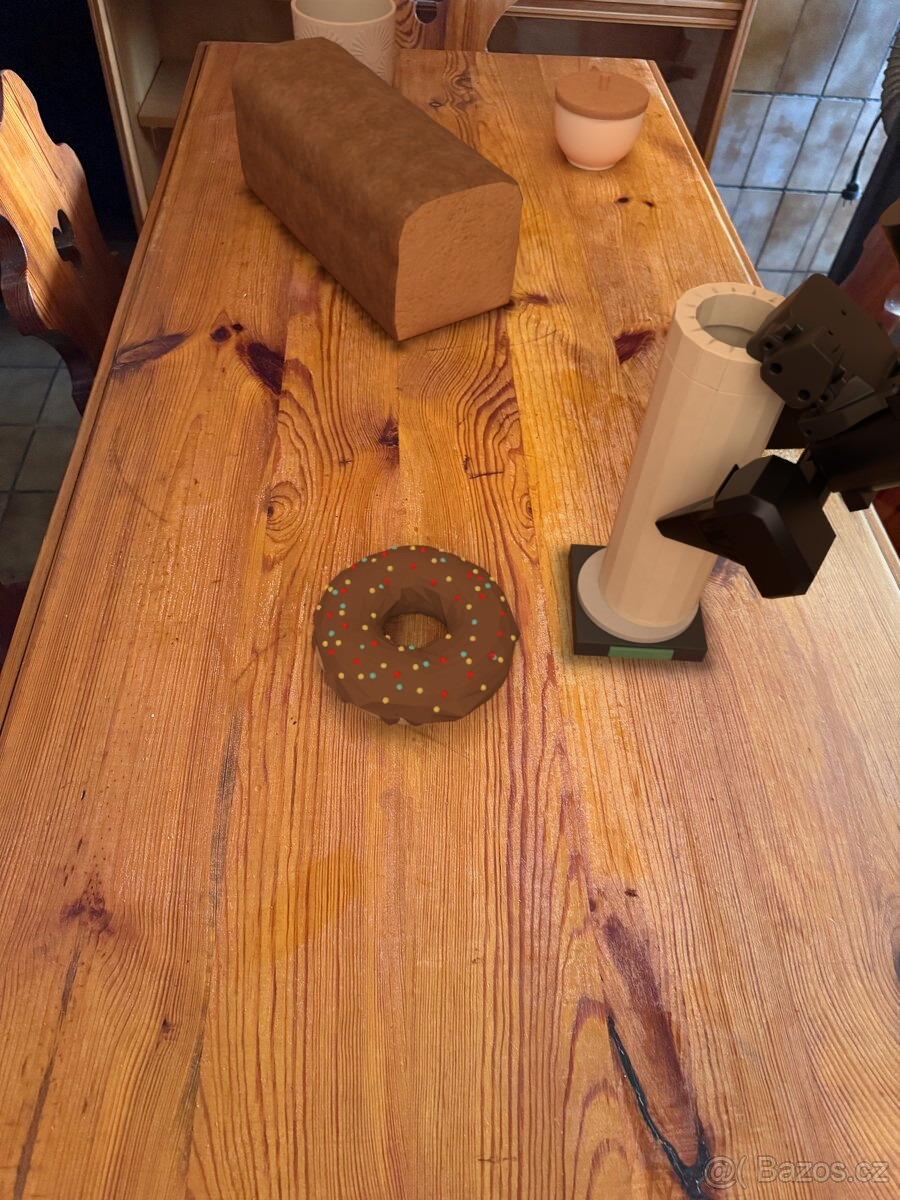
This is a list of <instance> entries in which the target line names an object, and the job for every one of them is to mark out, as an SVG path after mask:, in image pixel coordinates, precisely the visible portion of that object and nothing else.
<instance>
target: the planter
mask: <svg viewBox="0 0 900 1200" xmlns="http://www.w3.org/2000/svg"><path fill="white" fill-rule="evenodd" d="M290 9H291V19H292V27H293V36H294V40H298V39H305V38H313V37H324V38H326V39H329V40H331V41H333V42H335V43H337V44H339V45H340V46H342V47H343V48H344V49H346V50H347V51H348V52H349V53H350V54H352V55H353V56H354V57H355V58H357V59H358V60H359V61H360V62H362V63H363V64H364V65H366V66H367V67H368V68H370V69H371V70H372V71H373V72H375V73H376V74H377V75H378V76H379V77H381V78H382V79H383V80H384V81H385V82H386V83H388V84H389V85H390V86H391V87H392V88H393V82H394V72H395V61H396V60H395V57H396V32H397V31H396V29H397V28H396V27H397V22H396V21H397V4H396V2H395V1H394V0H291V2H290Z"/></svg>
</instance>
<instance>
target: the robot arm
mask: <svg viewBox="0 0 900 1200" xmlns="http://www.w3.org/2000/svg"><path fill="white" fill-rule="evenodd" d="M878 225H879V227H880V229H881V232H882V234H883V236H884V238H885V241H886V243H887V245H888V247H889V250H890V252H891V255H892V256H893V259H894V260H895V263H896V265H897V268H898V270H899V271H900V197H899V198H897V199H896V200H895V201H894V202H892V203H891V204H890V205H889V207H887V208H886V209H885V210H884V211H883V212H882V213H881V215H880V216H879V219H878ZM785 298H786V299H785V300H784V301H783V302H781V303H780V304H779V305H778V306H777V307H776V308H775V309H774V310H773V311H772V312H771V313H770V314H769V315H768V316H767V317H766V318H765V321H764V322H763V323H762V325H761V326H760V327H759V329H758V330H757V331H756V332H755V334H754V335H753V336H752V337H751V338H750V339H749V341H748V342H747V344H746V352H747V354H748V355H749V356H750V357H752V358H753V359H755V360H756V361H759V362H761V363H762V365H761V367H760V378H761V380H762V381H763V382H764V383H765V384H766V385H768V386H769V387H770V388H771V389H772V390H773V391H774V392H775V393H776V394H777V395H778V396H779V397H780V398H781V399H782V400H783V401H784V402H785V404H784V407H783V409H782V411H781V413H780V416H779V418H778V420H777V423H776V425H775V427H774V429H773V432H772V434H771V436H770V439H769V441H768V443H767V446H766V448H765V450H764V451H772V450H773V451H774V450H802V452H801V453H800V456H799V457H798V459H797V461H796V462H793V461H791V460H789V459H786V458H784V457H781V456H780V455H777V454H775V453H773V454H769V455H766V456H762V457H761V458H758V459H754V460H753V461H751V462H750V463H748V464H746V465H745V466H743V467H742V468H739V467H738V465H737V464H735V465H734V466H733V467H732V469H731V470H730V472H729V473H728V475H727V476H726V478H725V479H724V481H723V482H722V483H721V485H720V486H719V488H718V489H717V491H716V493H715V495H713V496H711V497H708V498H705V499H703V500H700V501H698V502H695V503H693V504H690V505H687V506H685V507H682V508H680V509H677V510H675V511H673V512H670V513H668V514H666V515H664V516H662V517H660V518H658V519H657V520H656V522H655V525H656V527H657V529H658V530H659V532H660V534H661V535H662V536H663V537H666V538H669V539H672V540H674V541H677V542H680V543H683V544H686V545H689V546H692V547H695V548H698V549H701V550H704V551H707V552H710V553H713V554H716V555H719V556H718V557H721V558H724V559H727V560H729V561H731V562H733V563H735V564H737V565H739V566H742V567H743V568H744V569H745V571H746V573H747V574H748V576H749V577H750V579H751V581H752V582H753V584H754V586H755V587H756V589H757V591H758V593H759V595H760V596H761V598H762V599H766V600H775V599H782V598H783V599H784V598H791V597H799V596H805V595H806V594H807V593H808V592H809V591H808V590H809V589H810V588H811V586H812V584H813V582H814V580H815V579H816V576H817V575H818V572H819V571H820V569H821V568H822V565H823V564H824V561H825V559H826V557H827V556H828V554H829V552H830V550H831V548H832V546H833V544H834V542H835V540H836V539H837V537H838V536H837V534H836V532H835V530H834V528H833V526H832V524H831V523H830V520H829V519H828V516H827V515H826V512H825V511H824V507H825V506H826V504H827V502H828V500H829V498H830V497H831V494H837V493H839V496H840V497H841V500H842V501H843V502H844V505H845V507H846V508H847V511H848V512H849V513H854V512H860V511H864V510H869V509H870V507H871V506H872V503H873V501H874V499H875V497H876V495H877V493H878V491H881V490H887V489H891V488H895V487H896V488H897V487H900V345H895V346H894V343H893V341H892V340H891V339H892V338H891V337H890V335H889V333H888V330H887V328H886V326H885V324H884V323H883V322H879V321H877V320H874V319H873V318H872V317H871V316H870V315H869V314H868V313H867V312H866V311H865V310H864V309H862V308H861V307H860V305H858V304H857V303H856V302H855V301H854V300H853V299H852V298H851V297H850V296H849V295H848V294H847V293H846V292H845V291H844V290H842V288H840V287H839V286H838V285H837V284H836V282H834V281H833V280H832V279H831V278H830V277H829V276H827V275H825V274H823V273H819V272H815V273H812V274H811V275H809V276H808V277H807V279H805V280H804V281H803V282H802V283H801V284H800V285H799V286H797V287H796V288H795V289H794V290H793V291H792V292H791V293H790V294H789V295H788V296H787V297H785Z"/></svg>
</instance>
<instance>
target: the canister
mask: <svg viewBox="0 0 900 1200" xmlns="http://www.w3.org/2000/svg"><path fill="white" fill-rule="evenodd" d="M786 298H787V297H785V296H783V295H782V294H779V293H777V292H774V291H772V290H769V289H767V288H764V287H761V286H759V285H758V286H757V285H756V284H749V283H742V282H736V281H722V282H721V281H720V282H708V283H707V282H705V283H702V284H700V285H697V286H695V287H692V288H690V289H687V290H686V291H685V292H684V293H683V294H682V295H681V296H680V298H678V299H677V301H675V305H674V308H673V311H672V315H671V319H670V322H669V327H668V330H667V333H666V337H665V339H664V340H665V341H664V343H663V347H662V351H661V354H660V358H659V361H658V365H657V369H656V372H655V375H654V378H653V382H652V385H651V389H650V393H649V397H648V400H647V403H646V407H645V411H644V415H643V419H642V422H641V425H640V429H639V432H638V435H637V439H636V442H635V445H634V449H633V452H632V457H631V459H630V460H631V461H630V464H629V468H628V471H627V474H626V478H625V481H624V485H623V489H622V492H621V496H620V499H619V503H618V507H617V510H616V513H615V517H614V519H613V524H612V528H611V531H610V534H609V538H608V541H607V545H606V546H607V549H606V552H605V556H604V559H603V563H602V567H601V572H600V576H599V588H600V592H601V595H602V597H603V599H604V600H605V602H606V603H607V605H608V606H609V607H610V608H611V609H612V610H613V611H614V612H615V613H616V614H618V615H619V616H620V617H622V618H624V619H625V620H627V621H630V622H632V623H635V624H637V625H641V626H646V627H667V626H671V625H675V624H677V623H679V622H681V621H683V620H684V619H686V618H687V617H688V616H689V615H690V614H691V613H692V612H693V610H694V608H695V606H696V604H697V602H698V601H700V599H701V597H702V594H703V592H704V590H705V587H706V585H707V583H708V581H709V579H710V576H711V574H712V572H713V569H714V567H715V565H716V563H717V560H718V558H719V557H720V556H719V555H716V554H713V553H710V552H707V551H704V550H701V549H698V548H695V547H692V546H689V545H686V544H683V543H680V542H677V541H674V540H672V539H669V538H666V537H663V536H662V535H661V534H660V532H659V530H658V529H657V527H656V525H655V522H656V520H657V519H658V518H660V517H662V516H664V515H666V514H668V513H670V512H673V511H675V510H677V509H680V508H682V507H685V506H687V505H690V504H693V503H695V502H698V501H700V500H703V499H705V498H708V497H711V496H713V495H715V493H716V491H717V489H718V488H719V486H720V485H721V483H722V482H723V481H724V479H725V478H726V476H727V475H728V473H729V472H730V470H731V469H732V467H733V466H734V465H735V464H737V465H738V467H739V468H742V467H743V466H745V465H746V464H748V463H750V462H751V461H753V460H754V459H758V458H761V457H763V455H764V453H765V451H766V450H765V448H766V446H767V443H768V441H769V439H770V436H771V434H772V432H773V429H774V427H775V425H776V423H777V420H778V418H779V416H780V413H781V411H782V409H783V407H784V404H785V402H784V401H783V400H782V399H781V398H780V397H779V396H778V395H777V394H776V393H775V392H774V391H773V390H772V389H771V388H770V387H769V386H768V385H766V384H765V383H764V382H763V381H762V380H761V378H760V367H761V365H762V363H761V362H759V361H756V360H755V359H753V358H752V357H750V356H749V355H748V354H747V352H746V344H747V342H748V341H749V339H750V338H751V337H752V336H753V335H754V334H755V332H756V331H757V330H758V329H759V327H760V326H761V325H762V323H763V322H764V321H765V318H766V317H767V316H768V315H769V314H770V313H771V312H772V311H773V310H774V309H775V308H776V307H777V306H778V305H779V304H780V303H781V302H783V301H784V300H785V299H786Z"/></svg>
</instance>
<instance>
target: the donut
mask: <svg viewBox="0 0 900 1200" xmlns="http://www.w3.org/2000/svg"><path fill="white" fill-rule="evenodd" d="M323 590H324V592H323V594H322V596H321V597H320V599H319V601H318V603H317V605H316V607H315V609H314V610H313V613H312V619H313V620H312V621H313V625H314V629H313V635H312V639H311V648H312V650H313V651H314V652H315V653H316V657H317V660H318V663H319V666H320V667H321V669H322V671H323V673H324V674H323V683H325V685H326V686H327V687H329V689H330V690H332V691H333V692H334V694H336V695H337V696H338V697H339V698H340V700H341V701H342V702H343V703H344V704H350V705H351V706H352V707H354V708H355V709H357V710H360V711H361V712H363V713H365V714H367V715H370V716H371V717H373V718H374V719H377V720H382V721H383V723H385V724H386V725H387V726H392V725H397V724H399V725H403V726H404V725H405V726H406V725H407V726H414V727H419V726H430V725H434V724H438V723H439V724H440V723H449V722H456V721H459V720H461V719H463V718H465V717H467V716H469V715H470V714H472V713H473V712H474V711H476V710H477V709H479V708H480V707H481V706H483V705H484V704H486V703H487V702H488V701H489V700H491V699H492V698H493V697H494V696H495V694H496V693H497V692H498V691H499V690H500V689H501V688H502V687H503V685H504V684H505V682H506V681H507V679H508V677H509V673H510V669H511V667H512V664H513V660H514V656H515V652H516V647H517V642H518V641H519V639H520V637H521V635H522V633H521V631H520V629H519V626H518V624H517V620H516V619H515V616H514V613H513V611H512V609H511V605H510V604H509V602H508V601H509V600H508V598H507V596H506V593H505V591H504V590H502V588H501V587H500V585H499V584H498V583H497V582H496V578H495V577H494V576H492V575H491V574H490V573H489V572H488V571H487V570H486V569H485V568H484V567H483V566H480V565H478V564H476V563H474V562H472V561H469V560H467V559H466V558H465V557H461V556H458V554H457V555H456V554H455V553H452V552H449V551H445V550H444V549H443V548H437V547H433V546H431V545H427V544H426V545H424V543H423V542H418V543H417V544H408V545H401V546H396V545H392V546H391V548H389V549H385V550H381V551H379V552H376V553H371V554H369V555H367V556H366V557H363V558H361V559H360V560H359V561H357V562H355V563H353V564H350V563H349V564H347V565H346V568H344V569H343V570H341V571H340V572H338V573H337V574H336V575H335V576H334V577H333V579H332V580H331V581H330V582H329V584H325V585H324V587H323ZM417 614H419V615H424V616H426V617H429V618H433V619H435V620H437V621H438V622H439V623H440V624H441V625H442V626H443V627H444V628H445V629H446V632H445V633H446V634H445V635H444V636H443V637H439V638H434V639H432V640H431V641H430V642H428V643H427V644H426V645H423V646H420V647H416V646H414V645H412V644H410V645H409V646H406V645H399V644H396V643H394V642H393V641H392V640H391V636H390V635H388V634H386V635H385V628H386V626H387V625H389V623H391V622H392V621H393V620H394V619H397V618H399V617H401V616H406V615H417Z"/></svg>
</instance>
